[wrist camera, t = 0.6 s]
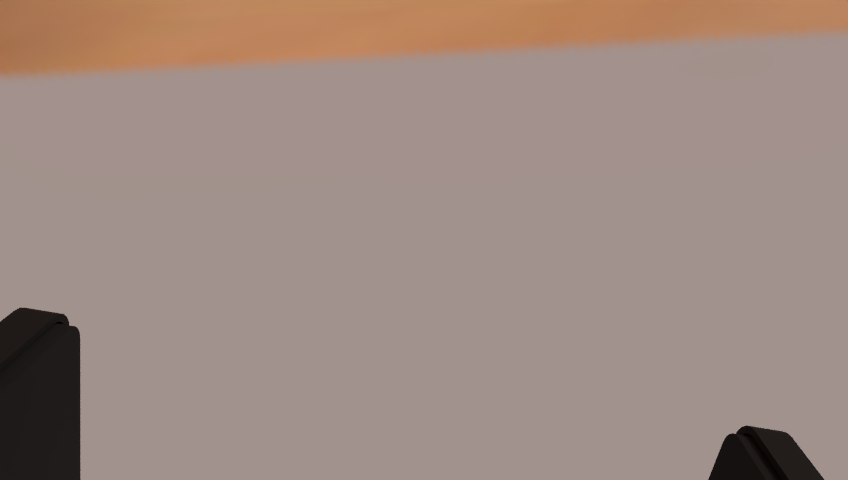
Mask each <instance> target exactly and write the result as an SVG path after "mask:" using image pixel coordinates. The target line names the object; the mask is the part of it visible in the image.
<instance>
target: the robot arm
mask: <svg viewBox="0 0 848 480" xmlns="http://www.w3.org/2000/svg"><path fill="white" fill-rule="evenodd" d="M0 480H80V333H79V330H78V329H77V327H75V326H69V321H68V319H67V317H66V316H65V315H64V314H59V313H53V312H47V311H41V310H35V309H29V308H19V309H17V310H15V311H13V312H12V313H11V314H10V315H8V316H7V317H6V318H5V319H3V320H2V321H1V322H0ZM709 480H824V479H823V477H822V476H821V475H820V473H819V472H818V471H817V470H816V468H815V467H814V466H813V464H812V463H811V462H810V460H809V459H808V458H807V457H806V455H805V454H804V453H803V451H802V450H801V449H800V447H799V446H798V445H797V443H796V442H795V441H794V440H793V438H792V437H791V436H790V435H789V434H788V433H785V432H782V431H776V430H770V429H764V428H757V427H751V426H744V427H741V428H740V429H739V430H738V431H737V433H736V434H729V435H728V436H727V437H726V438H725V440H724V442H723V444H722V447H721V449H720V452H719V454H718V457H717V459H716V462H715V464H714V467H713V470H712V472H711V475H710V477H709Z"/></svg>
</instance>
